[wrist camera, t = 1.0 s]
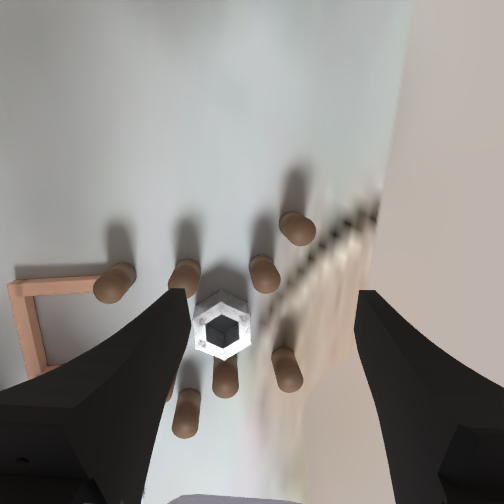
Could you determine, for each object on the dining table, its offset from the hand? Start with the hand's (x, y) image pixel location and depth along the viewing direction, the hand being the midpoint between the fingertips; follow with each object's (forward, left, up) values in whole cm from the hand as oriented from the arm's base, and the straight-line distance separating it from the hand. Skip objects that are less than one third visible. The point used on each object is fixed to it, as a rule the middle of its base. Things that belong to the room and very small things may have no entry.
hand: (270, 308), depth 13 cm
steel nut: (-8, +2, -17) cm, 19 cm away
